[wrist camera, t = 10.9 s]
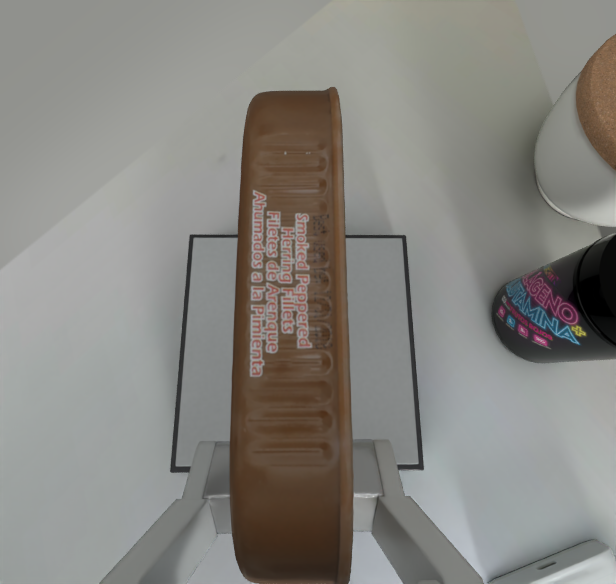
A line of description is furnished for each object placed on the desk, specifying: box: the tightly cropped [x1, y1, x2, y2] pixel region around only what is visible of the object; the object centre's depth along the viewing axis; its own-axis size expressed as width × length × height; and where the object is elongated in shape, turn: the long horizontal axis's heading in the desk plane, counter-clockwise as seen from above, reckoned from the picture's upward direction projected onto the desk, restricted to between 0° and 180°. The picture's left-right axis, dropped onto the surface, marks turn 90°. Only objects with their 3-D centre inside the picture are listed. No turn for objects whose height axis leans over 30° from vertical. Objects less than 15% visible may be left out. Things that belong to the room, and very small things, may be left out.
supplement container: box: [492, 233, 616, 363], centre depth 22 cm, size 7×7×10 cm
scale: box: [170, 235, 424, 473], centre depth 25 cm, size 16×16×3 cm
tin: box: [230, 87, 354, 584], centre depth 12 cm, size 15×3×8 cm, turn 0°
